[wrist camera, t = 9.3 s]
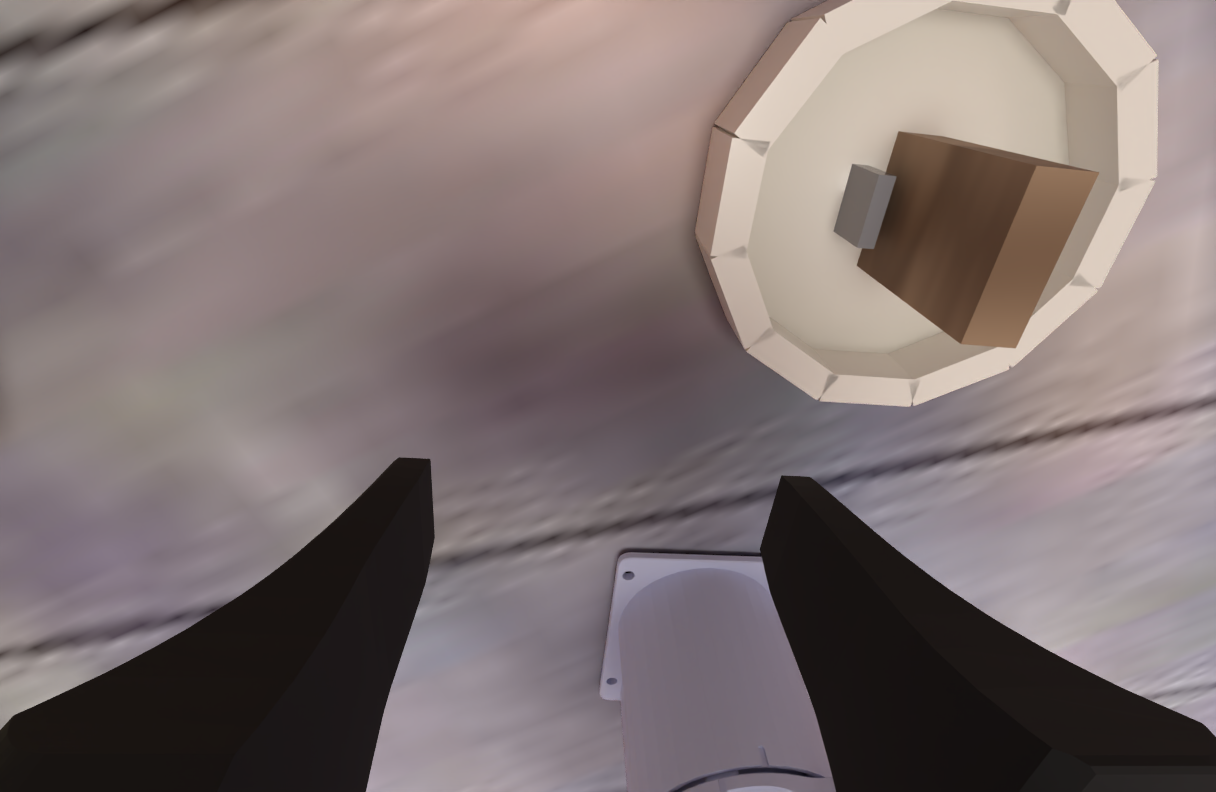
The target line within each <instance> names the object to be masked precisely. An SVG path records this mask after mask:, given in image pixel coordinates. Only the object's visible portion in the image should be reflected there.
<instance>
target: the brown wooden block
mask: <svg viewBox="0 0 1216 792" xmlns="http://www.w3.org/2000/svg"><path fill="white" fill-rule="evenodd" d="M886 172H887V173H889V174H892V175H895V176H897V177H896V180H895V183H894V187H893V190H892V193H891V196H890V199H889V202H888V206H887V209H886V212H885V215H884V218H883V222H882V225H881V228H880V231H879V234H878V237H877V241H876V244H875V247H874V249H865V248H862V250H861V253H860V256H859V259H858V263H857V266H858V267H859V268H860V269H862V270H863V271H864V272H866V273H867V274H868V275H870V276H871V277H872V278H874V279H875V280H876V281H878V282H879V283H880V284H882V285H883V286H884V287H885V288H887V289H888V290H889V291H891V292H892V293H893V294H895V295H896V296H897V297H899V298H900V299H901V300H903V301H904V302H905V303H907V304H908V305H909V306H911V307H912V308H913V309H915V310H916V311H917V312H919V313H920V314H921V315H923V316H924V317H925V318H927V319H928V320H929V321H931V322H932V323H933V324H935V325H936V326H937V327H939V328H940V329H941V330H943V331H944V332H945V333H947V334H948V335H949V336H951V337H952V338H953V339H955V340H956V341H957V342H959V343H960V344H965V345H978V346H990V347H1003V348H1016V347H1017V345H1018V343H1019V341H1020V339H1021V337H1022V334H1023V332H1024V330H1025V328H1026V326H1027V324H1028V322H1029V320H1030V318H1031V316H1032V313H1033V311H1034V309H1035V307H1036V305H1037V303H1038V301H1039V299H1040V297H1041V295H1042V292H1043V290H1044V288H1045V286H1046V284H1047V282H1048V280H1049V278H1050V276H1051V273H1052V271H1053V269H1054V267H1055V265H1056V263H1057V261H1058V259H1059V257H1060V255H1061V252H1062V250H1063V248H1064V246H1065V244H1066V242H1067V240H1068V238H1069V236H1070V234H1071V231H1072V229H1073V227H1074V225H1075V223H1076V221H1077V219H1078V217H1079V215H1080V212H1081V210H1082V208H1083V206H1084V204H1085V202H1086V200H1087V198H1088V196H1089V194H1090V191H1091V189H1092V187H1093V185H1094V183H1095V181H1096V179H1097V177H1098V175H1099V172H1095V171H1091V170H1087V169H1082V168H1078V167H1074V166H1069V165H1065V164H1061V163H1056V162H1052V161H1048V160H1044V159H1039V158H1035V157H1031V156H1026V155H1022V154H1018V153H1013V152H1009V151H1005V150H1001V149H996V148H992V147H988V146H983V145H979V144H975V143H970V142H966V141H962V140H957V139H953V138H949V137H945V136H936V135H928V134H919V133H910V132H901V131H898V134H897V138H896V141H895V144H894V147H893V150H892V154H891V157H890V160H889V163H888V166H887V170H886Z"/></svg>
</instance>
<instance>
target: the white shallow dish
mask: <svg viewBox="0 0 1216 792" xmlns="http://www.w3.org/2000/svg"><path fill="white" fill-rule="evenodd" d="M1156 56H1157V54H1156V53H1155V52H1154V51H1153V49H1152V48H1151V47H1150V45H1149V44H1148V43H1147V42H1146V40H1145V39H1144V38H1143V36H1142V35H1141V34H1140V33H1139V31H1138V30H1137V29H1136V27H1135V26H1134V25H1133V23H1132V22H1131V21H1130V20H1129V18H1128V17H1127V16H1126V14H1125V13H1124V12H1123V11H1122V9H1121V8H1120V7H1119V5H1118V4H1117V3H1116V2H1115V0H828V1H826V2H824V3H822V4H820V5H818V6H816V7H814V8H812V9H810V10H808V11H806V12H804V13H802V14H800V15H798V16H796V17H794V18H792V19H791V22H787V23H786V25H785V26H784V28H783V29H782V30H781V32H780V33H779V34H778V36H777V37H776V39H775V40H774V41H773V43H772V44H771V45H770V47H769V48H768V50H767V51H766V52H765V54H764V55H763V56H762V58H761V59H760V61H759V62H758V63H757V65H756V66H755V67H754V69H753V70H752V72H751V73H750V74H749V76H748V77H747V78H746V80H745V81H744V83H743V84H742V85H741V87H740V88H739V89H738V91H737V92H736V94H735V95H734V96H733V98H732V99H731V100H730V102H729V103H728V105H727V106H726V107H725V109H724V110H723V111H722V113H721V114H720V116H719V117H718V118H717V120H716V121H715V122H714V123H715V124H716V125H717V126H718V127H719V128H718V127H712V132H711V138H710V144H709V150H708V156H707V162H706V168H705V174H704V180H703V186H702V192H701V198H700V204H699V210H698V216H697V222H696V228H695V234H696V236H695V237H696V240H697V243H698V245H699V248H700V251H701V253H702V256H703V258H704V261H705V264H706V266H707V269H708V272H709V274H710V277H711V279H712V282H713V285H714V287H715V290H716V292H717V295H718V298H719V300H720V303H721V306H722V308H723V311H724V313H725V316H726V318H727V320H728V322H729V324H730V325H731V327H732V329H733V330H734V332H735V334H736V336H737V337H738V339H739V341H740V342H741V344H742V346H743V348H744V349H745V350H746V352H748V353H749V354H750V355H752V356H753V357H755V358H756V359H758V360H759V361H761V362H762V363H764V364H765V365H766V366H768V367H769V368H771V369H772V370H774V371H775V372H777V373H778V374H779V375H781V376H782V377H784V378H785V379H787V380H788V381H790V382H791V383H793V384H794V385H795V386H797V387H798V388H800V389H801V390H803V391H804V392H806V393H807V394H809V395H810V396H811V397H813V398H814V399H816V400H818V399H819V401H824V402H841V403H857V404H874V405H891V406H907V407H910V406H911V404H912V405H913V406H915V405H918V404H920V403H923V402H926V401H928V400H931V399H933V398H936V397H939V396H941V395H944V394H946V393H949V392H952V391H954V390H957V389H959V388H962V387H965V386H967V385H970V384H972V383H975V382H978V381H980V380H983V379H985V378H988V377H991V376H993V375H996V374H998V373H1001V372H1004V371H1006V370H1009V365H1010V366H1011V367H1013V366H1015V365H1016V364H1017V363H1018V362H1019V361H1020V360H1021V359H1022V358H1024V357H1025V356H1026V355H1027V354H1028V353H1029V352H1030V351H1031V350H1033V349H1034V348H1035V347H1036V346H1037V345H1038V344H1039V343H1040V342H1041V341H1043V340H1044V339H1045V338H1046V337H1047V336H1048V335H1049V334H1050V333H1052V332H1053V331H1054V330H1055V329H1056V328H1057V327H1058V326H1059V325H1061V324H1062V323H1063V322H1064V321H1065V320H1066V319H1067V318H1068V317H1070V316H1071V315H1072V314H1073V313H1074V312H1075V311H1076V310H1077V309H1079V308H1080V307H1081V306H1082V305H1083V304H1084V303H1085V302H1086V301H1088V300H1089V299H1090V298H1091V297H1092V296H1093V295H1094V294H1095V293H1096V292H1098V291H1097V290H1096V289H1095V288H1101V286H1102V284H1103V282H1104V280H1105V278H1106V276H1107V274H1108V272H1109V270H1110V269H1111V267H1112V265H1113V263H1114V261H1115V259H1116V257H1117V255H1118V253H1119V251H1120V249H1121V247H1122V245H1123V243H1124V241H1125V239H1126V238H1127V236H1128V234H1129V232H1130V230H1131V228H1132V226H1133V224H1134V222H1135V220H1136V218H1137V216H1138V214H1139V212H1140V210H1141V208H1142V207H1143V205H1144V203H1145V201H1146V199H1147V197H1148V195H1149V193H1150V191H1151V189H1152V187H1153V185H1154V183H1155V181H1154V180H1150V179H1152V178H1155V177H1157V132H1158V59H1154V58H1155V57H1156ZM898 131H901V132H910V133H919V134H928V135H936V136H945V137H949V138H953V139H957V140H962V141H966V142H970V143H975V144H979V145H983V146H988V147H992V148H996V149H1001V150H1005V151H1009V152H1013V153H1018V154H1022V155H1026V156H1031V157H1035V158H1039V159H1044V160H1048V161H1052V162H1056V163H1061V164H1065V165H1069V166H1074V167H1078V168H1082V169H1087V170H1091V171H1095V172H1099V175H1098V177H1097V179H1096V181H1095V183H1094V185H1093V187H1092V189H1091V191H1090V194H1089V196H1088V198H1087V200H1086V202H1085V204H1084V206H1083V208H1082V210H1081V212H1080V215H1079V217H1078V219H1077V221H1076V223H1075V225H1074V227H1073V229H1072V231H1071V234H1070V236H1069V238H1068V240H1067V242H1066V244H1065V246H1064V248H1063V250H1062V252H1061V255H1060V257H1059V259H1058V261H1057V263H1056V265H1055V267H1054V269H1053V271H1052V273H1051V276H1050V278H1049V280H1048V282H1047V284H1046V286H1045V288H1044V290H1043V292H1042V295H1041V297H1040V299H1039V301H1038V303H1037V305H1036V307H1035V309H1034V311H1033V313H1032V316H1031V318H1030V320H1029V322H1028V324H1027V326H1026V328H1025V330H1024V332H1023V334H1022V337H1021V339H1020V341H1019V343H1018V345H1017V347H1016V348H1003V347H990V346H978V345H965V344H960V343H959V342H957V341H956V340H955V339H953V338H952V337H951V336H949V335H948V334H947V333H945V332H944V331H943V330H941V329H940V328H939V327H937V326H936V325H935V324H933V323H932V322H931V321H929V320H928V319H927V318H925V317H924V316H923V315H921V314H920V313H919V312H917V311H916V310H915V309H913V308H912V307H911V306H909V305H908V304H907V303H905V302H904V301H903V300H901V299H900V298H899V297H897V296H896V295H895V294H893V293H892V292H891V291H889V290H888V289H887V288H885V287H884V286H883V285H882V284H880V283H879V282H878V281H876V280H875V279H874V278H872V277H871V276H870V275H868V274H867V273H866V272H864V271H863V270H862V269H860V268H859V267H858V266H857V263H858V259H859V256H860V253H861V250H862V248H865V249H874V247H875V244H876V241H877V237H878V234H879V231H880V228H881V225H882V222H883V218H884V215H885V212H886V209H887V206H888V202H889V199H890V196H891V193H892V190H893V187H894V183H895V180H896V177H897V176H895V175H892V174H889V173H887V172H886V170H887V166H888V163H889V160H890V157H891V154H892V150H893V147H894V144H895V141H896V138H897V134H898ZM1094 287H1095V288H1094Z"/></svg>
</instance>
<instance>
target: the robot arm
mask: <svg viewBox="0 0 1216 792" xmlns="http://www.w3.org/2000/svg"><path fill="white" fill-rule="evenodd" d="M434 538H435V535H434V517H433V498H432V480H431V461H430V459H420V458H398V459H397V460H395V461H394V462H393V463H392V464H391V465H390V466H389V467H388V468H387V469H386V470H385V471H384V472H383V473H382V474H381V475H380V476H379V477H378V478H377V480H376V481H375V482H374V483H373V484H372V485H371V486H370V487H369V488H368V489H367V490H366V491H365V492H364V493H363V494H362V495H361V496H360V497H359V498H358V499H357V500H356V501H355V502H354V503H353V504H351V505H350V506H349V507H348V508H347V509H346V510H345V511H344V512H343V513H342V514H341V515H340V516H339V517H338V518H337V519H336V520H335V521H334V522H332V523H331V524H330V525H329V526H328V527H327V528H326V529H325V530H324V531H322V532H321V533H320V534H319V535H318V536H317V537H315V538H314V539H313V540H312V541H311V542H310V543H308V544H307V545H306V546H305V547H304V548H302V549H301V550H300V551H299V552H298V553H297V554H295V555H294V556H293V557H292V558H290V559H289V560H288V561H287V562H285V563H284V564H283V565H282V566H280V567H279V568H278V569H276V570H275V571H274V572H272V573H271V574H270V575H269V576H267V577H266V578H264V579H263V580H262V581H260V582H259V583H257V584H256V585H255V586H253V587H252V588H250V589H249V590H248V591H246V592H245V593H243V594H242V595H240V596H239V597H237V598H236V599H234V600H232V601H231V602H229V603H228V604H226V605H224V606H223V607H221V608H220V609H218V610H216V611H215V612H213V613H212V614H210V615H208V616H207V617H205V618H204V619H202V620H200V621H199V622H197V623H196V624H194V625H192V626H191V627H189V628H188V629H186V630H184V631H182V632H181V633H179V634H177V635H175V636H174V637H172V638H170V639H168V640H167V641H165V642H163V643H161V644H159V645H158V646H156V647H154V648H152V649H150V650H148V651H147V652H145V653H143V654H141V655H139V656H137V657H135V658H133V659H131V660H130V661H128V662H126V663H124V664H122V665H120V666H118V667H116V668H114V669H112V670H110V671H108V672H106V673H104V674H102V675H100V676H98V677H96V678H94V679H92V680H90V681H87V682H85V683H83V684H81V685H79V686H77V687H75V688H72V689H70V690H68V691H66V692H64V693H62V694H60V695H57V696H55V697H53V698H51V699H49V700H47V701H45V702H42V703H40V704H38V705H36V706H34V707H32V708H29V709H27V710H25V711H23V712H20V713H18V714H16V715H14V716H13V717H12V718H11V719H10V720H9V721H8V722H7V723H6V724H5V726H4V727H3V728H2V729H1V730H0V792H366V788H367V783H368V779H369V774H370V770H371V765H372V761H373V756H374V752H375V748H376V743H377V739H378V734H379V730H380V726H381V721H382V717H383V713H384V709H385V706H386V702H387V699H388V695H389V692H390V688H391V685H392V682H393V679H394V676H395V673H396V670H397V667H398V664H399V661H400V658H401V655H402V652H403V649H404V646H405V643H406V640H407V637H408V634H409V631H410V629H411V626H412V623H413V620H414V617H415V613H416V610H417V607H418V604H419V601H420V598H421V595H422V592H423V589H424V586H425V583H426V578H427V573H428V568H429V564H430V559H431V553H432V548H433V543H434ZM760 551H761V556H762V557H754V556H724V555H695V554H665V553H636V552H629V553H624V554H622V555H621V556H620V557H619V558H618V561H617V568H616V575H615V582H614V589H613V596H612V603H611V610H610V616H609V623H608V630H607V637H606V644H605V651H604V658H603V665H602V672H601V679H600V686H599V693H600V696H601V698H603V699H605V700H620V703H621V716H622V729H623V742H624V755H625V768H626V781H627V792H1216V737H1215V736H1214V735H1213V734H1212V733H1211V731H1210V730H1209V729H1208V728H1207V727H1206V726H1205V725H1203V724H1202V723H1200V722H1198V721H1196V720H1193V719H1191V718H1189V717H1187V716H1184V715H1182V714H1180V713H1178V712H1175V711H1173V710H1171V709H1168V708H1166V707H1164V706H1162V705H1159V704H1157V703H1155V702H1153V701H1150V700H1148V699H1146V698H1144V697H1141V696H1139V695H1137V694H1134V693H1132V692H1130V691H1128V690H1125V689H1123V688H1121V687H1119V686H1117V685H1115V684H1113V683H1111V682H1109V681H1107V680H1105V679H1103V678H1101V677H1099V676H1097V675H1095V674H1093V673H1091V672H1089V671H1087V670H1085V669H1083V668H1081V667H1079V666H1077V665H1075V664H1073V663H1071V662H1069V661H1067V660H1065V659H1063V658H1061V657H1060V656H1058V655H1056V654H1054V653H1052V652H1050V651H1048V650H1046V649H1045V648H1043V647H1041V646H1039V645H1038V644H1036V643H1034V642H1032V641H1031V640H1029V639H1027V638H1025V637H1024V636H1022V635H1020V634H1019V633H1017V632H1015V631H1013V630H1012V629H1010V628H1008V627H1006V626H1005V625H1003V624H1001V623H1000V622H998V621H997V620H995V619H993V618H992V617H990V616H988V615H987V614H985V613H984V612H982V611H981V610H979V609H978V608H976V607H975V606H973V605H972V604H970V603H969V602H967V601H966V600H964V599H963V598H961V597H960V596H958V595H957V594H955V593H954V592H952V591H951V590H949V589H948V588H946V587H945V586H944V585H942V584H941V583H939V582H938V581H937V580H935V579H934V578H932V577H931V576H930V575H929V574H927V573H926V572H925V571H923V570H922V569H921V568H919V567H918V566H917V565H915V564H914V563H913V562H911V561H910V560H909V559H907V558H906V557H905V556H904V555H902V554H901V553H900V552H899V551H897V550H896V549H895V548H894V547H892V546H891V545H890V544H889V543H888V542H886V541H885V540H884V539H883V538H882V537H880V536H879V535H878V534H877V533H876V532H874V531H873V530H872V529H871V528H870V527H868V526H867V525H866V524H865V523H864V522H863V521H861V520H860V519H859V518H858V517H857V516H856V515H855V514H853V513H852V512H851V511H850V510H849V509H848V508H846V507H845V506H844V505H843V504H842V503H841V502H840V501H838V500H837V499H836V498H835V497H834V496H833V495H831V494H830V493H829V492H828V491H827V490H825V489H824V488H823V487H822V486H821V485H819V484H818V483H817V482H816V481H814V480H813V479H812V478H810V477H801V476H781V479H780V482H779V486H778V489H777V493H776V496H775V499H774V503H773V506H772V510H771V513H770V516H769V520H768V523H767V527H766V530H765V533H764V537H763V540H762V544H761V547H760ZM627 571H631V573H625V572H627ZM791 649H792V650H791ZM794 657H795V658H794ZM796 662H797V663H796ZM797 665H798V666H797ZM798 668H799V669H798ZM799 670H800V671H799ZM800 673H801V674H800ZM801 675H802V677H801ZM802 678H803V679H802ZM803 681H804V682H803ZM804 683H805V685H804ZM805 686H806V688H807V690H806V688H805ZM807 691H808V693H807ZM808 694H809V696H808ZM809 697H810V698H809ZM810 700H811V701H810ZM811 703H812V704H811ZM812 705H813V706H812ZM813 708H814V709H813ZM814 711H815V712H814ZM815 714H816V715H815Z"/></svg>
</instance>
